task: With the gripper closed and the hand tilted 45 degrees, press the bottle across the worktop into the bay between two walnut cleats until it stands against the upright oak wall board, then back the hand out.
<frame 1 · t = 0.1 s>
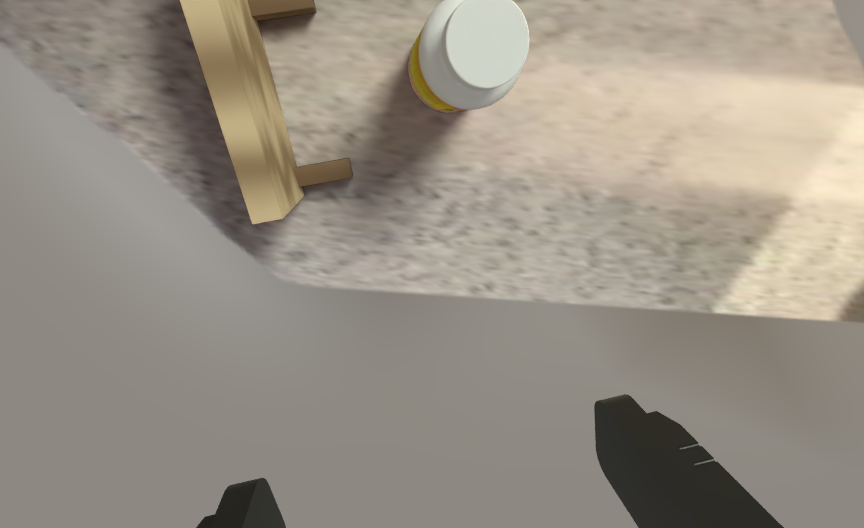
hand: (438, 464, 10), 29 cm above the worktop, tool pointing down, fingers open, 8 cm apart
supplement bottle: (447, 70, 34), on the worktop
wall board: (258, 73, 32), on the worktop
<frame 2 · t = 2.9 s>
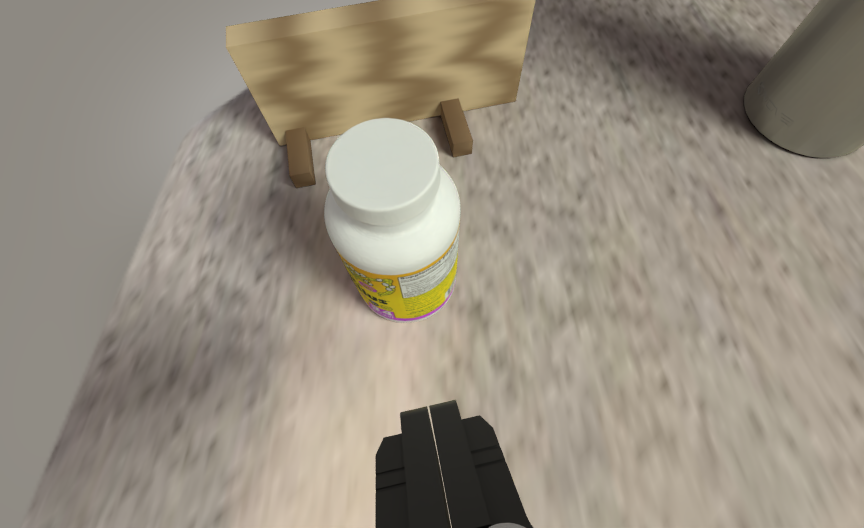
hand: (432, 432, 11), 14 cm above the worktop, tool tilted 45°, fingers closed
supplement bottle: (408, 280, 28), on the worktop
wall board: (397, 114, 35), on the worktop
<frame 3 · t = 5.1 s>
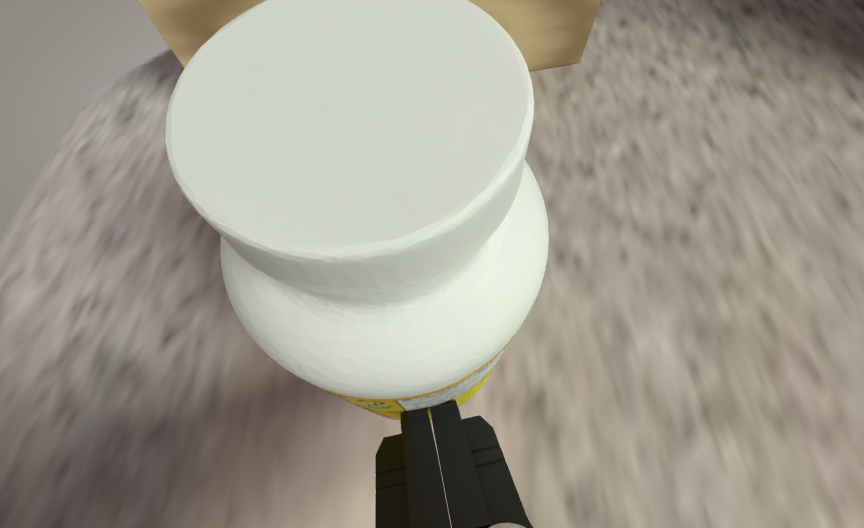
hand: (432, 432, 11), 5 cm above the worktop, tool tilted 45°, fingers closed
supplement bottle: (414, 339, 17), on the worktop, touching gripper
wall board: (402, 79, 23), on the worktop
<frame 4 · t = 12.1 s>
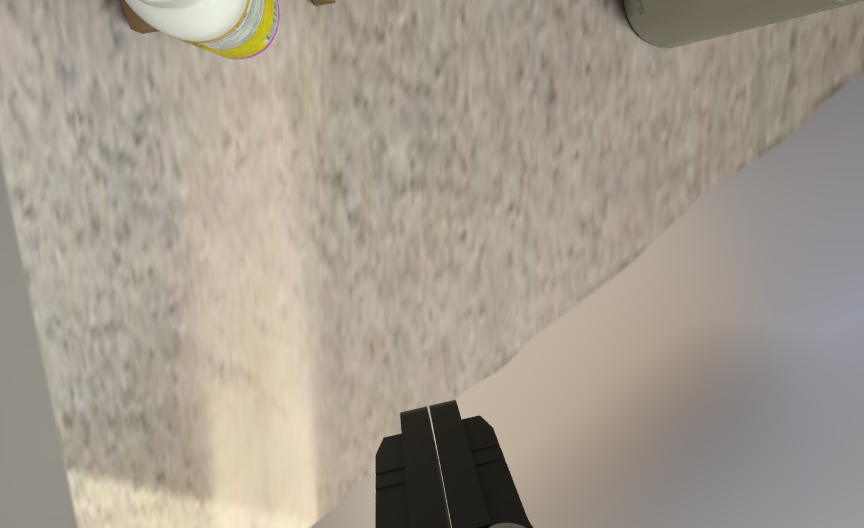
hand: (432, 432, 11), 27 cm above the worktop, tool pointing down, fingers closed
supplement bottle: (236, 12, 30), on the worktop
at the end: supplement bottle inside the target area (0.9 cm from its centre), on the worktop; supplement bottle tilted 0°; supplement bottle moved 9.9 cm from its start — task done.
